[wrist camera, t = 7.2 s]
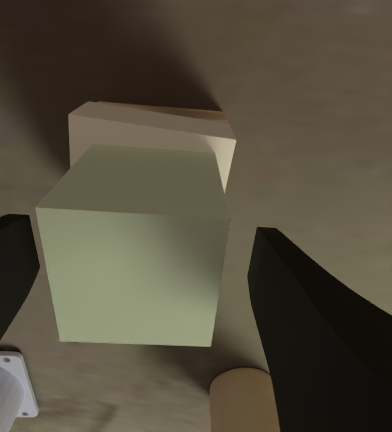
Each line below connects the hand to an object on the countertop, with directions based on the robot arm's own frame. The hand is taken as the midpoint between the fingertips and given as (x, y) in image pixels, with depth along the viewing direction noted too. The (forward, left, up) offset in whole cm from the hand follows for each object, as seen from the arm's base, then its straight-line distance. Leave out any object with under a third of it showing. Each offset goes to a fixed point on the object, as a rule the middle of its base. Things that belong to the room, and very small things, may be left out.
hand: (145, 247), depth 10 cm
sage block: (0, 0, -3) cm, 3 cm away
